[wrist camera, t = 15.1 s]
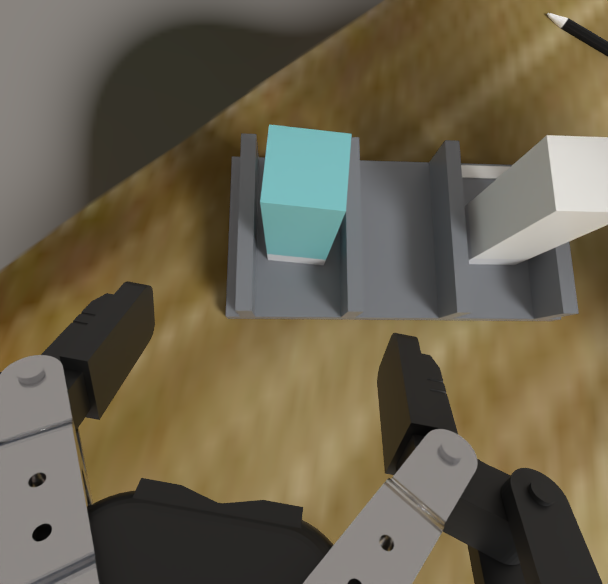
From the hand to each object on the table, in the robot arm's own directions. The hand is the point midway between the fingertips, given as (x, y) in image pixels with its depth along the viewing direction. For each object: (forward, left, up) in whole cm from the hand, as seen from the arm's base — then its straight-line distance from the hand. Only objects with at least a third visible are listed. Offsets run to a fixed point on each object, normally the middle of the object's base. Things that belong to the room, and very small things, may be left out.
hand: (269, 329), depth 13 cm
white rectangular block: (-16, -8, -14) cm, 22 cm away
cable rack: (-9, -8, -15) cm, 19 cm away
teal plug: (-1, -8, -14) cm, 16 cm away
